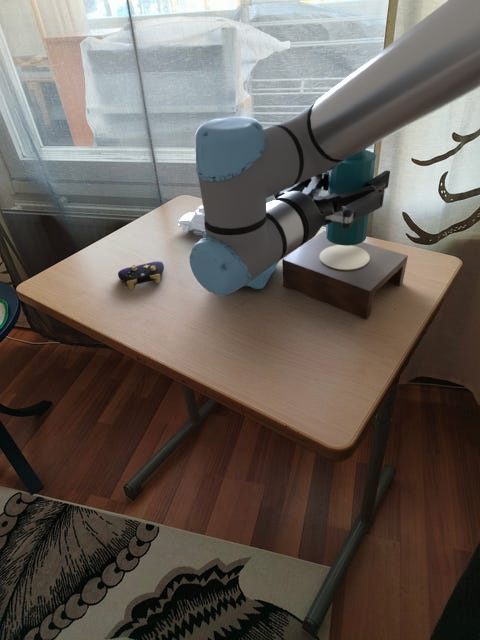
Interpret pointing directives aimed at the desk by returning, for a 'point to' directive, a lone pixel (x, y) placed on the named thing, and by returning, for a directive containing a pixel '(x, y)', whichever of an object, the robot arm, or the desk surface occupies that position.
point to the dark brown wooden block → (342, 273)
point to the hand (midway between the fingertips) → (365, 174)
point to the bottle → (344, 180)
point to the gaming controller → (141, 274)
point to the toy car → (193, 221)
